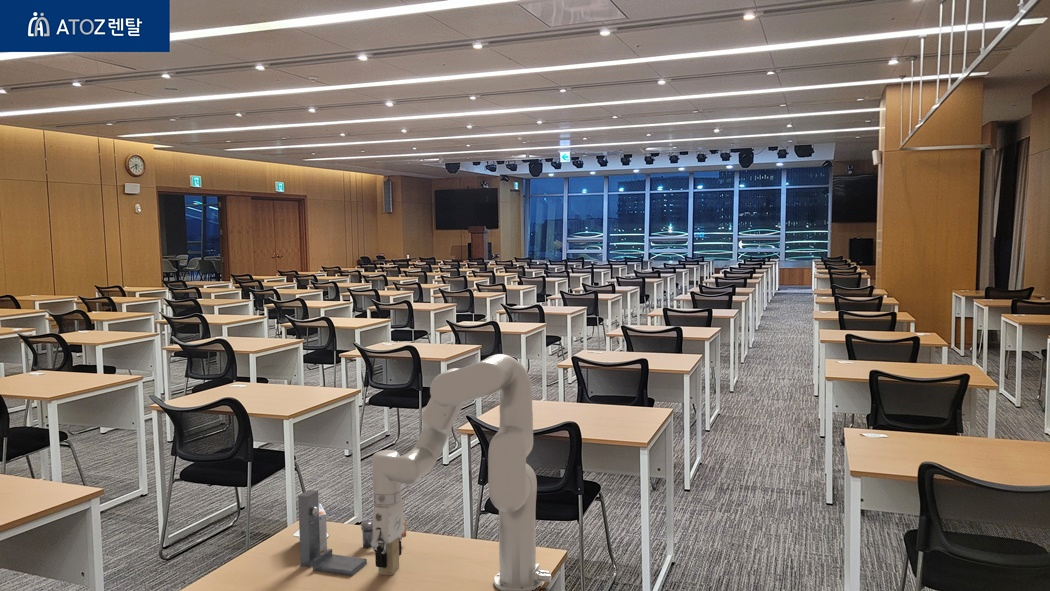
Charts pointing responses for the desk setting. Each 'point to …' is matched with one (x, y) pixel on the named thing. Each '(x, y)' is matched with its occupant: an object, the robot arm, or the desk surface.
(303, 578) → the desk surface
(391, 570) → the box
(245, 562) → the desk surface
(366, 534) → the lever post
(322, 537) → the light bulb box
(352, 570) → the press
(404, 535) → the lever
